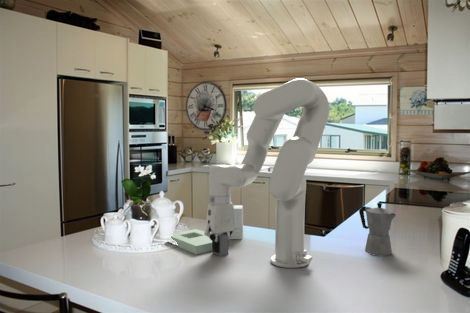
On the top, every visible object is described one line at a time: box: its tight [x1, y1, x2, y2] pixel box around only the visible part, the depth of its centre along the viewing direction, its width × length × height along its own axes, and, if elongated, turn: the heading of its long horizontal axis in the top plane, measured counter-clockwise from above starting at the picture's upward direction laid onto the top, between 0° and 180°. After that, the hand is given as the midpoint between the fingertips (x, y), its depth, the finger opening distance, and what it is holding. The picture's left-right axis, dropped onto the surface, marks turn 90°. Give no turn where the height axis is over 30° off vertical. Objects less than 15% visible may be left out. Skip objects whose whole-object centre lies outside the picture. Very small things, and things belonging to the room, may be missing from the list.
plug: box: [212, 233, 229, 257], centre depth 147 cm, size 4×4×7 cm
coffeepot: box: [358, 202, 397, 256], centre depth 149 cm, size 15×9×18 cm, turn 34°
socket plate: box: [171, 228, 213, 255], centre depth 158 cm, size 20×14×3 cm
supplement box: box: [229, 204, 244, 240], centre depth 169 cm, size 7×7×13 cm
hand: (220, 250), depth 147 cm, fingers closed on plug, 3 cm apart
